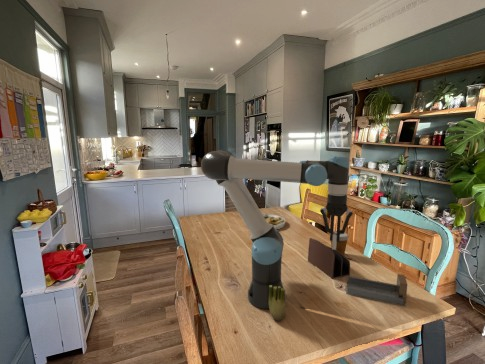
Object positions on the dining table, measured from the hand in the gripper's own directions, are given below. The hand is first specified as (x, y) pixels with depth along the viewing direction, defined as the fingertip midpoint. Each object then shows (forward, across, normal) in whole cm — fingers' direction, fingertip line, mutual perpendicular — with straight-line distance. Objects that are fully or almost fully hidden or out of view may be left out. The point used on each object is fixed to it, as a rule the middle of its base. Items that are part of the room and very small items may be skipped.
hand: (334, 248), depth 109 cm
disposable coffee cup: (+18, 0, -33) cm, 37 cm away
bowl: (+18, +53, -64) cm, 85 cm away
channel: (+17, -16, 0) cm, 24 cm away
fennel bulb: (+18, +16, +28) cm, 37 cm away
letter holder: (+18, +3, -15) cm, 24 cm away
